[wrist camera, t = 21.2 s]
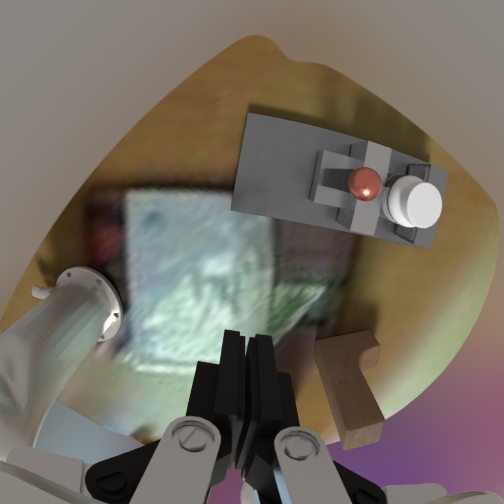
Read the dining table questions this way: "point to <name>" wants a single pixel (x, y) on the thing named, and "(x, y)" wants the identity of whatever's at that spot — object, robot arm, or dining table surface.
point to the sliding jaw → (353, 184)
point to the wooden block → (351, 386)
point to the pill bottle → (410, 201)
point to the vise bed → (312, 177)
